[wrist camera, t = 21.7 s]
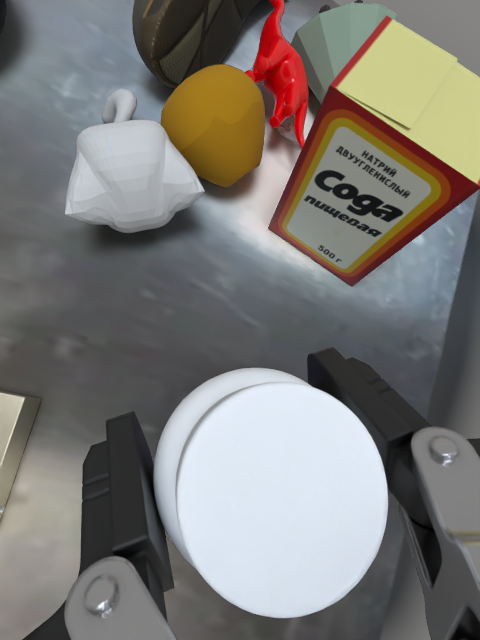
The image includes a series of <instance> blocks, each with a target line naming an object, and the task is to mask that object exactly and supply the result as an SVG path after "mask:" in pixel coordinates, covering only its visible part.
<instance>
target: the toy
mask: <svg viewBox="0 0 480 640" xmlns="http://www.w3.org/2000/svg"><path fill="white" fill-rule="evenodd" d="M136 105H137V100H136V97H135V95H134V94H133V93H132V92H131V91H130V90H128V89H118V90H116V91H114V92H113V93H112V94H111V95H110V96H109V98H108V100H107V103H106V105H105V107H104V109H103V112H102V119H103V121H104V122H105V123H106V124H101V125H95V126H92V127H88V128H86V129H85V130H83V131H82V132H81V133H80V134H79V136H78V138H77V144H76V149H77V156H76V160H75V163H74V166H73V170H72V173H71V177H70V181H69V185H68V190H67V198H66V207H65V215H68V216H70V217H73V218H75V219H78V220H80V221H83V222H85V223H87V224H94V225H108V226H110V227H111V228H113V229H115V230H117V231H119V232H123V233H134V232H138V231H142V230H148V229H155V228H159V227H162V226H164V225H165V224H167V223H168V222H169V221H170V220H171V219H172V217H173V216H174V214H175V212H177V211H180V210H183V209H185V208H187V207H189V206H191V205H192V204H193V203H194V202H195V201H196V200H197V199H198V197H199V196H200V195H201V194H202V193H203V192H204V189H203V187H202V185H201V183H200V181H199V179H198V177H197V175H196V173H195V172H194V170H193V169H192V167H191V166H190V165H189V163H188V162H187V161H186V160H185V158H184V157H183V156H182V155H181V154H180V152H179V151H178V150H177V149H176V148H175V146H174V145H173V144H172V143H171V142H170V140H169V137H168V135H167V133H166V131H165V129H164V128H163V127H162V126H161V125H160V124H159V123H157V122H155V121H152V120H130V119H131V117H132V115H133V114H134V111H135V109H136Z"/></svg>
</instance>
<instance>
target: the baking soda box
mask: <svg viewBox="0 0 480 640" xmlns="http://www.w3.org/2000/svg"><path fill="white" fill-rule="evenodd" d="M456 60H457V58H456V57H454V56H452V55H450V54H449V53H447V52H446V51H444V50H443V49H441V48H439V47H437V46H436V45H434V44H433V43H431V42H429V41H428V40H426V39H424V38H423V37H421V36H419V35H418V34H416V33H414V32H413V31H411V30H410V29H408V28H406V27H405V26H403V25H402V24H400V23H398V22H397V21H395V20H393V19H392V18H390V17H388V16H387V15H386V17H385V18H384V19H383V20H382V21H381V23H380V24H379V25H378V26H377V28H376V29H375V30H374V31H373V32H372V34H371V35H370V36H369V37H368V39H367V40H366V41H365V42H364V43H363V45H362V46H361V47H360V48H359V50H358V51H357V52H356V53H355V55H354V56H353V57H352V58H351V59H350V61H349V62H348V63H347V64H346V66H345V67H344V68H343V69H342V70H341V72H340V73H339V74H338V75H337V77H336V78H335V79H334V80H333V82H332V83H331V84H330V86H329V88H328V90H327V93H326V95H325V97H324V100H323V102H322V104H321V107H320V109H319V111H318V113H317V116H316V118H315V120H314V123H313V125H312V127H311V130H310V132H309V134H308V137H307V139H306V141H305V144H304V146H303V148H302V151H301V153H300V155H299V157H298V160H297V162H296V164H295V167H294V169H293V171H292V174H291V176H290V178H289V181H288V183H287V185H286V188H285V190H284V192H283V194H282V197H281V199H280V201H279V204H278V206H277V208H276V211H275V213H274V215H273V218H272V220H271V222H270V225H269V227H268V228H269V229H270V230H272V231H273V232H275V233H276V234H278V235H279V236H280V237H282V238H283V239H285V240H286V241H288V242H289V243H291V244H292V245H293V246H295V247H296V248H298V249H299V250H301V251H302V252H303V253H305V254H306V255H308V256H309V257H311V258H312V259H314V260H315V261H316V262H318V263H319V264H321V265H322V266H324V267H325V268H327V269H328V270H329V271H331V272H332V273H334V274H335V275H337V276H338V277H339V278H341V279H342V280H344V281H345V282H347V283H348V284H350V285H351V286H353V285H355V284H356V283H357V282H359V281H360V280H361V279H362V278H364V277H365V276H366V275H368V274H369V273H370V272H372V271H373V270H374V269H375V268H377V267H378V266H379V265H381V264H382V263H383V262H385V261H386V260H387V259H389V258H390V257H391V256H392V255H394V254H395V253H396V252H398V251H399V250H400V249H402V248H403V247H404V246H405V245H407V244H408V243H409V242H411V241H412V240H413V239H415V238H416V237H417V236H419V235H420V234H421V233H422V232H424V231H425V230H426V229H428V228H429V227H430V226H432V225H433V224H434V223H435V222H437V221H438V220H439V219H441V218H442V217H443V216H445V215H446V214H447V213H449V212H450V211H451V210H452V209H454V208H455V207H456V206H458V205H459V204H460V203H462V202H463V201H464V200H465V199H467V198H468V197H469V196H471V195H472V194H473V193H475V192H476V191H477V190H479V189H480V77H478V76H477V75H475V74H474V73H472V72H471V71H469V70H468V69H466V68H465V67H463V66H462V65H460V64H459V63H457V62H456Z"/></svg>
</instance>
